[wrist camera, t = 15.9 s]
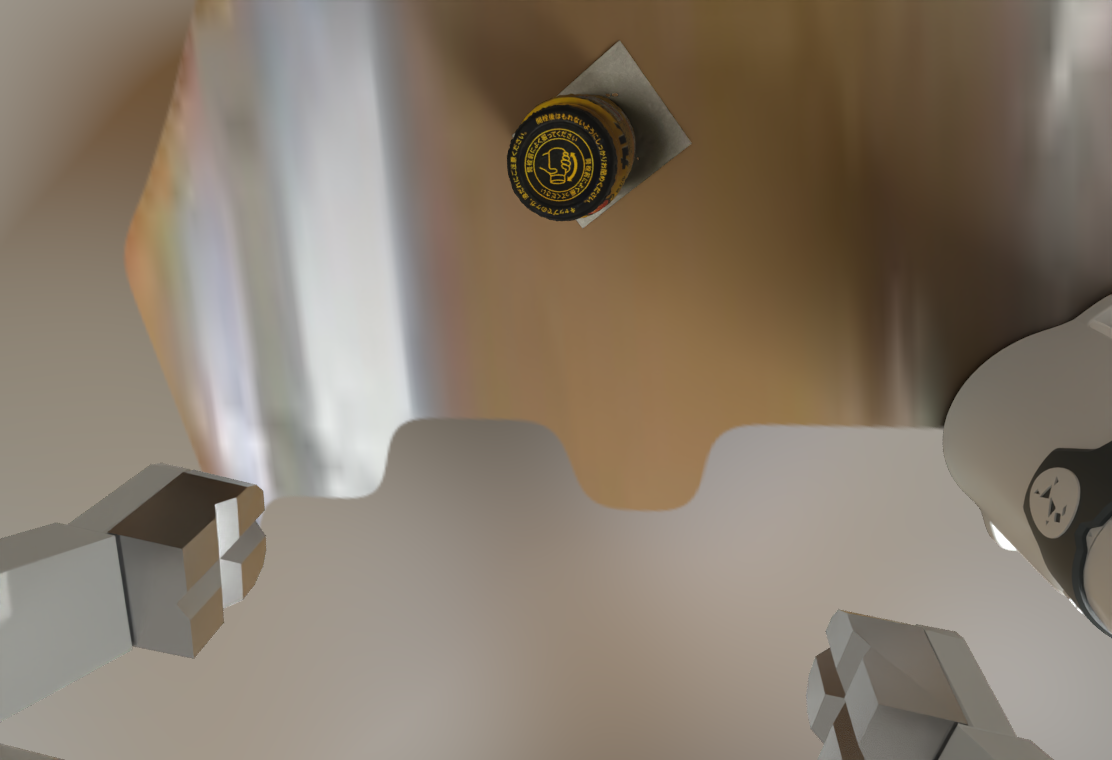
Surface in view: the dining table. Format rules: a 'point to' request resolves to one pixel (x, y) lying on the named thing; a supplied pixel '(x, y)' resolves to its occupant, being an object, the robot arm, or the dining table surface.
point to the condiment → (592, 142)
